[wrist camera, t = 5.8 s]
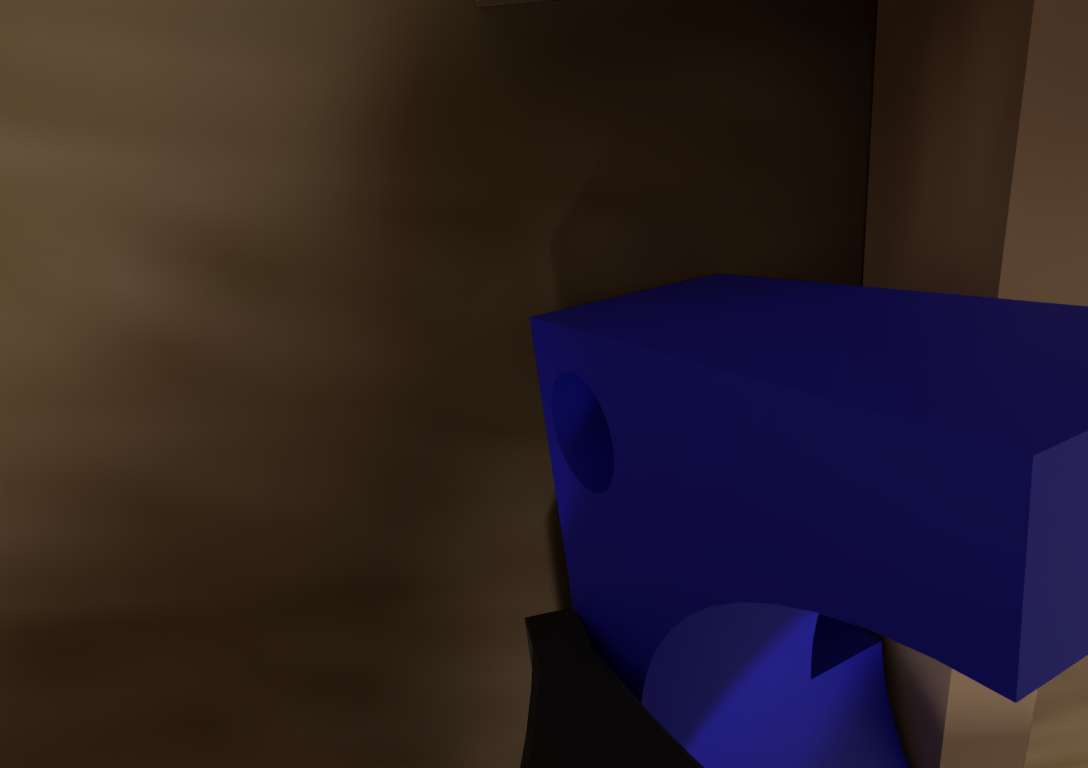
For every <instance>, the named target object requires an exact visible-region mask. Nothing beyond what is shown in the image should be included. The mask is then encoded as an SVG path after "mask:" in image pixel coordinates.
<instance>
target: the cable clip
mask: <svg viewBox="0 0 1088 768" xmlns="http://www.w3.org/2000/svg"><path fill="white" fill-rule="evenodd" d="M530 322H531V328H532V335H533V342H534V349H535V355H536V362H537V369H538V376H539V382H540V389H541V396H542V402H543V409H544V416H545V423H546V429H547V436H548V443H549V449H550V456H551V463H552V470H553V476H554V483H555V490H556V497H557V503H558V510H559V517H560V523H561V530H562V537H563V544H564V550H565V557H566V564H567V570H568V577H569V584H570V591H571V597H572V604H573V610H574V611H575V612H577V613H578V615H579V617H580V619H581V621H582V623H583V625H584V628H585V630H586V632H587V634H588V636H589V639H590V642H591V643H592V645H593V646H594V647H595V649H596V650H597V651H598V653H599V654H600V655H601V656H602V658H603V659H604V660H605V662H606V663H607V664H608V665H609V667H610V668H611V669H612V670H613V672H614V673H615V674H616V675H617V676H618V677H619V679H620V680H621V681H622V682H623V683H624V685H625V686H626V687H627V688H628V689H629V690H630V691H631V692H632V694H633V695H634V696H635V697H636V698H637V699H638V700H639V701H640V702H641V704H642V705H643V706H644V707H645V708H646V709H647V710H648V711H649V713H650V714H651V715H652V716H653V717H654V718H655V719H656V720H657V721H658V722H659V723H660V724H661V725H662V726H663V727H664V728H665V729H666V730H667V731H668V732H669V733H670V734H671V735H672V736H673V737H674V738H675V739H676V740H677V741H678V742H679V743H680V744H681V745H682V746H683V747H684V748H685V749H686V750H687V751H688V752H689V753H690V754H691V755H692V756H693V757H694V758H695V759H696V760H697V761H698V762H699V763H700V764H701V765H702V766H704V767H705V768H909V765H908V762H907V760H906V757H905V754H904V751H903V749H902V746H901V743H900V740H899V737H898V734H897V730H896V727H895V723H894V720H893V716H892V713H891V709H890V704H889V699H888V694H887V689H886V684H885V677H884V668H883V658H882V641H881V640H880V639H878V638H877V637H875V636H873V635H872V634H870V633H868V632H867V631H865V630H863V629H862V628H865V629H868V630H870V631H873V632H875V633H877V634H879V635H882V636H884V637H886V638H888V639H891V640H893V641H895V642H897V643H900V644H902V645H904V646H906V647H909V648H911V649H913V650H915V651H918V652H920V653H922V654H924V655H927V656H929V657H931V658H933V659H935V660H937V661H939V662H941V663H943V664H945V665H946V666H948V667H950V668H952V669H954V670H956V671H958V672H959V673H961V674H963V675H965V676H967V677H969V678H970V679H972V680H974V681H976V682H978V683H980V684H981V685H983V686H985V687H987V688H989V689H991V690H993V691H994V692H996V693H998V694H1000V695H1002V696H1004V697H1005V698H1007V699H1009V700H1011V701H1013V702H1015V703H1017V702H1019V701H1020V700H1022V699H1023V698H1025V697H1026V696H1027V695H1029V694H1030V693H1032V692H1033V691H1035V690H1036V689H1038V688H1039V687H1041V686H1042V685H1044V684H1045V683H1047V682H1048V681H1050V680H1051V679H1053V678H1054V677H1056V676H1057V675H1058V674H1060V673H1061V672H1063V671H1064V670H1066V669H1067V668H1069V667H1070V666H1072V665H1073V664H1075V663H1076V662H1078V661H1079V660H1081V659H1082V658H1084V657H1085V656H1087V655H1088V306H1079V305H1068V304H1056V303H1045V302H1034V301H1023V300H1011V299H1000V298H989V297H978V296H966V295H955V294H944V293H933V292H921V291H910V290H899V289H888V288H876V287H865V286H854V285H843V284H831V283H820V282H809V281H798V280H786V279H775V278H764V277H753V276H741V275H730V274H719V273H718V274H713V275H709V276H705V277H700V278H696V279H692V280H687V281H683V282H679V283H674V284H670V285H666V286H662V287H657V288H653V289H649V290H644V291H640V292H636V293H631V294H627V295H623V296H618V297H614V298H610V299H606V300H601V301H597V302H593V303H588V304H584V305H580V306H575V307H571V308H567V309H562V310H558V311H554V312H549V313H545V314H541V315H537V316H532V317H530ZM860 627H862V628H860Z"/></svg>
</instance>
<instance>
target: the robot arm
mask: <svg viewBox="0 0 1088 768" xmlns="http://www.w3.org/2000/svg"><path fill="white" fill-rule="evenodd" d="M525 624H526V631H527V638H528V645H529V651H530V658H531V665H532V685H531V696H530V705H529V714H528V723H527V731H526V738H525V744H524V750H523V755H522V761H521V766H520V768H705V767H704V766H702V765H701V764H700V763H699V762H698V761H697V760H696V759H695V758H694V757H693V756H692V755H691V754H690V753H689V752H688V751H687V750H686V749H685V748H684V747H683V746H682V745H681V744H680V743H679V742H678V741H677V740H676V739H675V738H674V737H673V736H672V735H671V734H670V733H669V732H668V731H667V730H666V729H665V728H664V727H663V726H662V725H661V724H660V723H659V722H658V721H657V720H656V719H655V718H654V717H653V716H652V715H651V714H650V713H649V711H648V710H647V709H646V708H645V707H644V706H643V705H642V704H641V702H640V701H639V700H638V699H637V698H636V697H635V696H634V695H633V694H632V692H631V691H630V690H629V689H628V688H627V687H626V686H625V685H624V683H623V682H622V681H621V680H620V679H619V677H618V676H617V675H616V674H615V673H614V672H613V670H612V669H611V668H610V667H609V665H608V664H607V663H606V662H605V660H604V659H603V658H602V656H601V655H600V654H599V653H598V651H597V650H596V649H595V647H594V646H593V645H592V643H591V642H590V639H589V636H588V634H587V632H586V630H585V628H584V625H583V623H582V621H581V619H580V617H579V615H578V613H577V612H575V611H574V610H573V608H568V609H564V610H559V611H554V612H549V613H545V614H540V615H535V616H531V617H526V618H525Z"/></svg>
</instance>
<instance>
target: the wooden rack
mask: <svg viewBox="0 0 1088 768" xmlns="http://www.w3.org/2000/svg"><path fill="white" fill-rule="evenodd" d="M541 1H552V0H475V4H476V7H487V6H498V5H509V4H520V3H530V2H541ZM863 286H865V287H876V288H888V289H899V290H910V291H921V292H933V293H944V294H955V295H966V296H978V297H989V298H1000V299H1011V300H1023V301H1034V302H1045V303H1056V304H1068V305H1079V306H1088V0H878V10H877V29H876V48H875V66H874V85H873V104H872V123H871V141H870V160H869V179H868V198H867V217H866V235H865V254H864V273H863ZM860 628H862V627H860ZM862 629H863V630H865V631H867V632H868V633H870V634H872V635H873V636H875V637H877V638H878V639H880V640H881V641H882V658H883V668H884V677H885V684H886V689H887V694H888V699H889V704H890V709H891V713H892V716H893V720H894V723H895V727H896V730H897V734H898V737H899V740H900V743H901V746H902V749H903V751H904V754H905V757H906V760H907V762H908V765H909V768H1024V763H1025V757H1026V752H1027V746H1028V741H1029V735H1030V730H1031V724H1032V719H1033V713H1034V708H1035V702H1036V696H1037V691H1038V689H1036V690H1035V691H1033V692H1032V693H1030V694H1029V695H1027V696H1026V697H1025V698H1023V699H1022V700H1020V701H1019V702H1017V703H1015V702H1013V701H1011V700H1009V699H1007V698H1005V697H1004V696H1002V695H1000V694H998V693H996V692H994V691H993V690H991V689H989V688H987V687H985V686H983V685H981V684H980V683H978V682H976V681H974V680H972V679H970V678H969V677H967V676H965V675H963V674H961V673H959V672H958V671H956V670H954V669H952V668H950V667H948V666H946V665H945V664H943V663H941V662H939V661H937V660H935V659H933V658H931V657H929V656H927V655H924V654H922V653H920V652H918V651H915V650H913V649H911V648H909V647H906V646H904V645H902V644H900V643H897V642H895V641H893V640H891V639H888V638H886V637H884V636H882V635H879V634H877V633H875V632H873V631H870V630H868V629H865V628H862Z"/></svg>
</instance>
